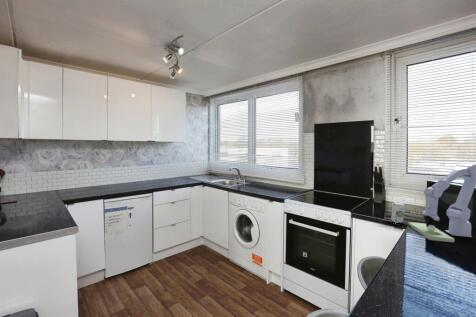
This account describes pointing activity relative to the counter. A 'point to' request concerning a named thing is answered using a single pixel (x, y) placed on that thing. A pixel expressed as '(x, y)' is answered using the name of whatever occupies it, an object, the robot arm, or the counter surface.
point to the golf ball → (431, 228)
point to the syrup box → (397, 212)
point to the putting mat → (430, 235)
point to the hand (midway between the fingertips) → (429, 228)
